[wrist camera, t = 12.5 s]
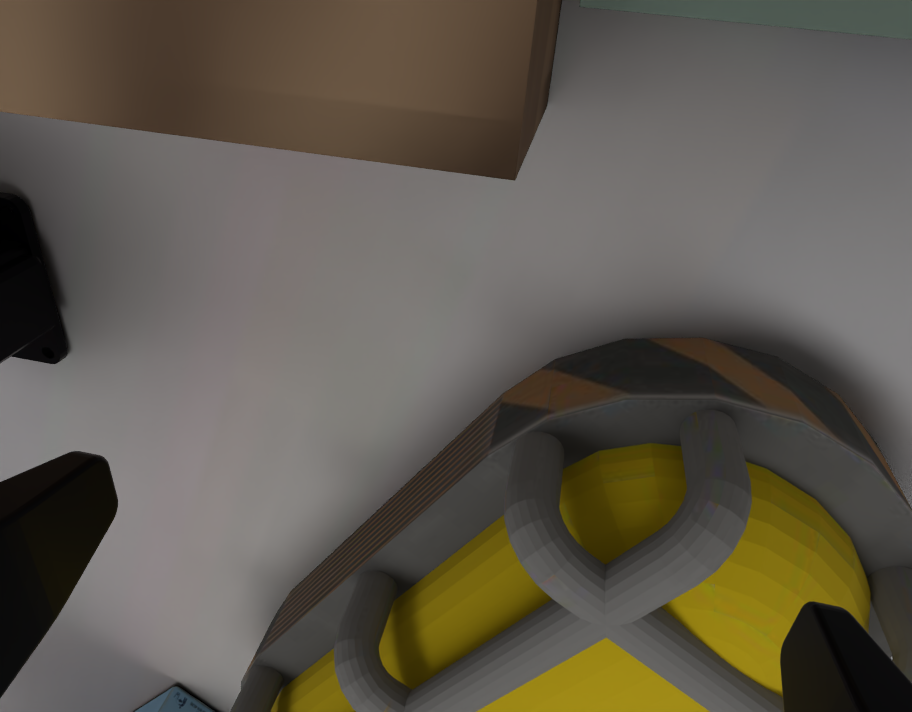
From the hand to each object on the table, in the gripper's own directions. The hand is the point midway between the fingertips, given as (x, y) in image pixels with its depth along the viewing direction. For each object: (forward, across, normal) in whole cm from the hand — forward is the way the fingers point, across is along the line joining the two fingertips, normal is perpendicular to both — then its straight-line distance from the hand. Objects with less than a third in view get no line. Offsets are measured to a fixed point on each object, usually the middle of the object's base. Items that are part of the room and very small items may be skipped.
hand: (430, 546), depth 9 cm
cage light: (+14, -2, +17) cm, 22 cm away
